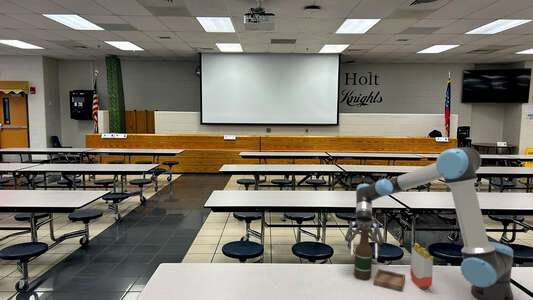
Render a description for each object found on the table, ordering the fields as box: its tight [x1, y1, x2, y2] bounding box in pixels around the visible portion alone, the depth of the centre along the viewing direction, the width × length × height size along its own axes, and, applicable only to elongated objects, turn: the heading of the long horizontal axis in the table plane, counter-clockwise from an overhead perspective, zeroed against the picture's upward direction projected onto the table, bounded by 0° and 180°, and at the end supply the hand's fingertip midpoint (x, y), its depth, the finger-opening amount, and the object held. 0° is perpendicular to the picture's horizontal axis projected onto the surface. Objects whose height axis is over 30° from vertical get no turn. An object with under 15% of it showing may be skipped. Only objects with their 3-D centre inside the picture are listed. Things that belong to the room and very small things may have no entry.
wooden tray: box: [372, 268, 406, 293], centre depth 160 cm, size 12×12×2 cm
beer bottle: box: [353, 226, 373, 281], centre depth 163 cm, size 8×8×24 cm
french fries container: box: [409, 242, 434, 289], centre depth 157 cm, size 5×11×18 cm, turn 5°
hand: (363, 256), depth 161 cm, fingers open, 10 cm apart
